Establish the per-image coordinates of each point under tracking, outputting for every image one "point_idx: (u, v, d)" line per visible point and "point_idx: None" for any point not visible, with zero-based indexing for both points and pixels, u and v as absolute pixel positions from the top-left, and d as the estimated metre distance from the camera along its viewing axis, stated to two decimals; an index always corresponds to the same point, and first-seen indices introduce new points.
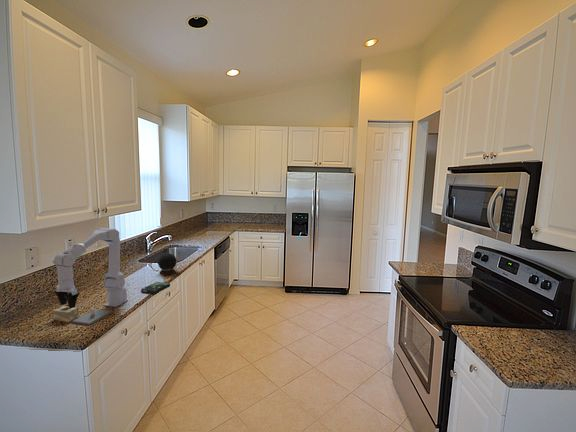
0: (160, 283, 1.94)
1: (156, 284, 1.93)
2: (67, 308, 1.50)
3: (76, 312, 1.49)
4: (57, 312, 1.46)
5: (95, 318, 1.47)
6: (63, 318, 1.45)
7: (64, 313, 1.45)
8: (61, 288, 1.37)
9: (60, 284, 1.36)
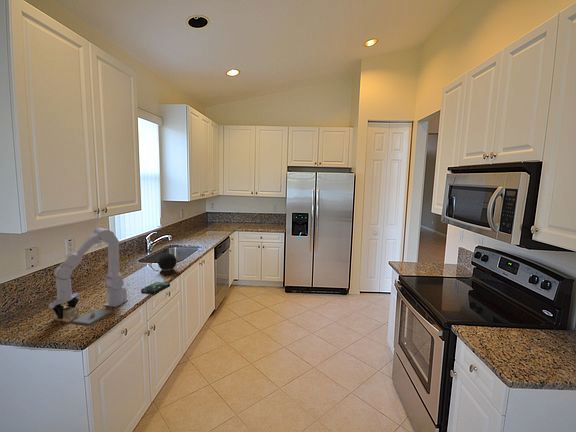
0: (160, 283, 1.94)
1: (156, 284, 1.93)
2: (67, 308, 1.50)
3: (76, 312, 1.49)
4: None
5: (95, 318, 1.47)
6: (63, 318, 1.45)
7: (64, 313, 1.45)
8: None
9: None
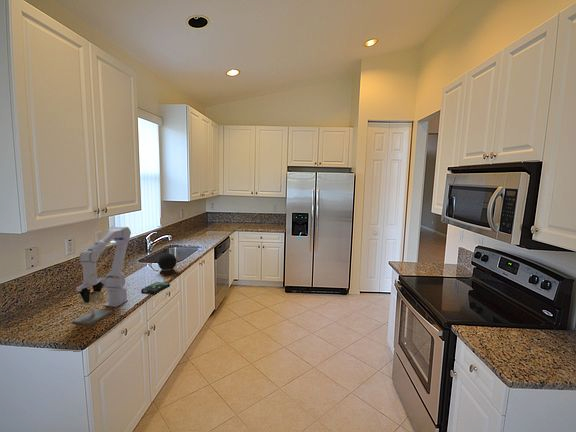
0: (160, 283, 1.94)
1: (156, 284, 1.93)
2: (92, 292, 1.51)
3: (101, 296, 1.50)
4: None
5: (95, 318, 1.47)
6: (89, 302, 1.46)
7: (90, 297, 1.45)
8: None
9: None
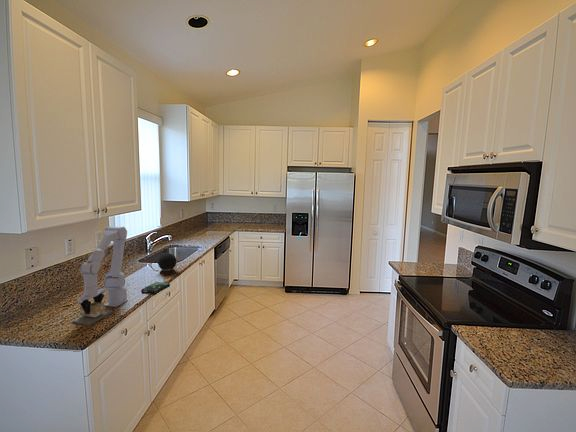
0: (160, 283, 1.94)
1: (156, 284, 1.93)
2: (93, 304, 1.51)
3: (102, 307, 1.50)
4: None
5: (95, 318, 1.47)
6: (90, 313, 1.47)
7: (91, 308, 1.46)
8: None
9: None
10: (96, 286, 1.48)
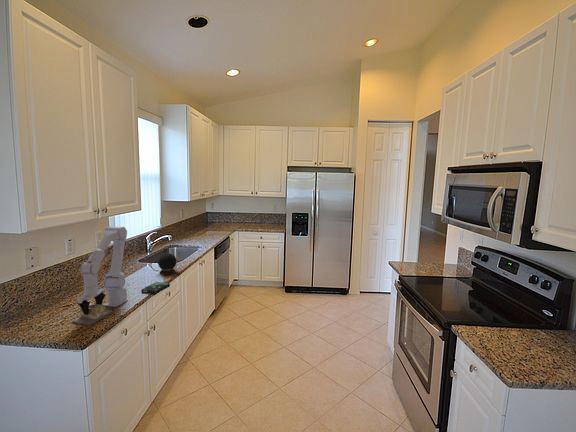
0: (160, 283, 1.94)
1: (156, 284, 1.93)
2: (93, 305, 1.51)
3: (102, 309, 1.50)
4: None
5: None
6: (90, 315, 1.47)
7: (91, 310, 1.46)
8: None
9: None
10: (96, 286, 1.48)
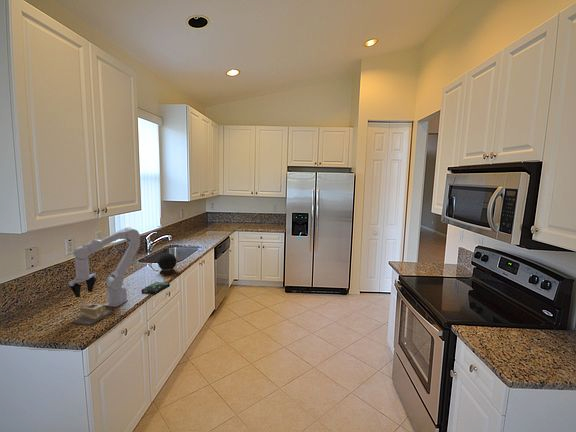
0: (160, 283, 1.94)
1: (156, 284, 1.93)
2: (93, 305, 1.51)
3: (102, 309, 1.50)
4: (84, 309, 1.47)
5: None
6: (90, 315, 1.47)
7: (91, 310, 1.46)
8: None
9: None
10: (87, 270, 1.54)
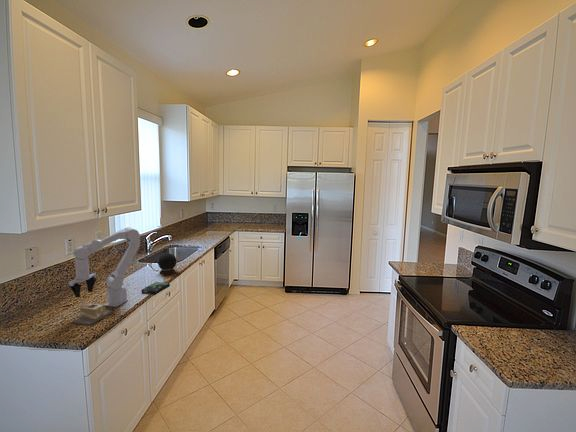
0: (159, 283, 1.94)
1: (156, 284, 1.93)
2: (93, 305, 1.51)
3: (102, 309, 1.50)
4: (84, 309, 1.47)
5: None
6: (90, 315, 1.47)
7: (91, 310, 1.46)
8: None
9: None
10: (87, 270, 1.54)
